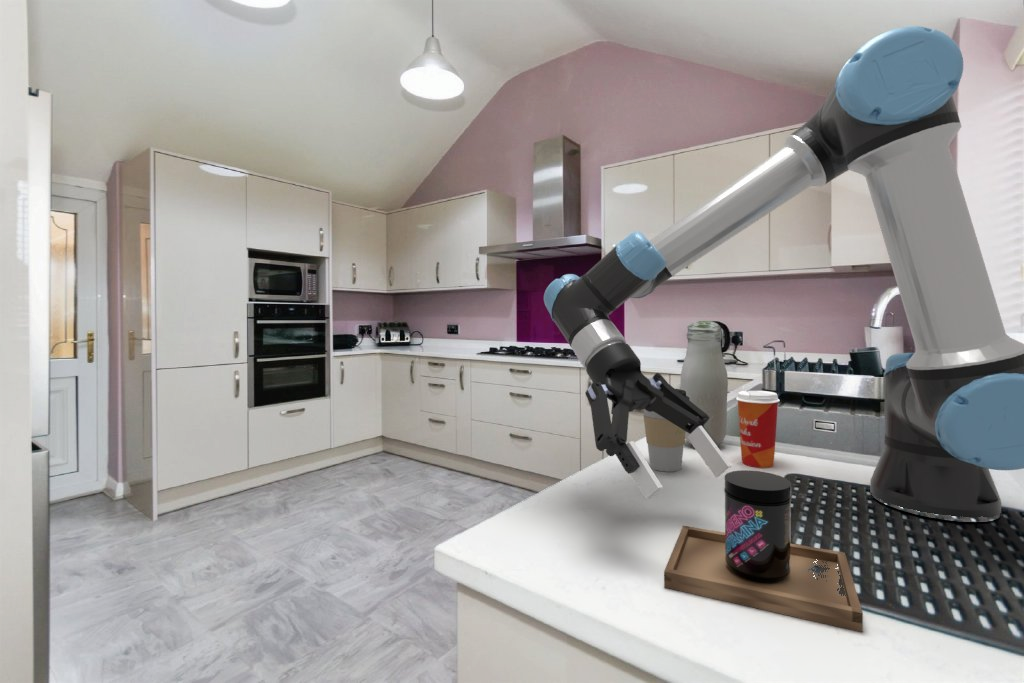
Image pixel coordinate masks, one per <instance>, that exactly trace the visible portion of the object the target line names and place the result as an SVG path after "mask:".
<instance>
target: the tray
mask: <svg viewBox="0 0 1024 683" xmlns="http://www.w3.org/2000/svg"><path fill="white" fill-rule="evenodd" d="M669 556H670V557H669V558H668V561H667V563H666V566H665V568H664V570H663V580H664V581H663V585H664V586H663V587H664V588H666V589H671V590H675V591H679V592H684V593H688V594H692V595H697V596H702V597H706V598H710V599H715V600H718V601H723V602H728V603H733V604H737V605H741V606H744V607H745V606H746V607H750V608H754V609H758V610H762V611H763V610H764V611H768V612H770V613H771V612H772V613H777V614H782V615H785V616H789V617H790V616H791V617H793V618H797V619H798V618H799V619H803V620H806V621H811V622H817V623H820V624H824V625H825V624H826V625H830V626H834V627H839V628H843V629H847V630H851V631H856V632H862V633H863V631H864V630H863V629H864V628H863V626H864V625H863V624H864V623H863V622H864V621H863V620H864V619H863V618H864V615H863V610H862V606H861V603H860V599H859V595H858V592H857V590H856V585H855V582H854V579H853V575H852V573H851V569H850V566H849V562H848V558H847V555H846V553H845V552H843V551H838V550H833V549H825V548H820V547H815V546H808V545H807V546H806V545H802V544H796V543H791V544H790V574H789V576H788V577H787V578H786V579H785V580H783V581H781V582H778V583H759V582H754V581H750V580H747V579H744V578H742V577H740V576H738V575H736V574H735V573H734V572H732V571H731V569H730V568H729V567H728V565H727V563H726V561H725V531H724V532H723V531H719V530H712V529H707V528H700V527H699V528H698V527H695V526H689V525H688V526H687V525H682V527H681V529H680V531H679V535H678V537H677V540H676V542H675V543H674V547H673V549H672V551H671V553H670V555H669ZM816 559H817V560H818V561H817V560H816ZM825 560H826V561H827V562H826V561H825ZM814 561H817V562H816V563H817V564H818V566H819V565H820V566H821V565H822V566H823V567H824V565H826V566H825V567H826V568H827V567H828V568H830V569H829V570H828V569H827V570H826V572H825V570H824V572H823V573H821V571H820V573H821V575H822V574H823V575H824V578H823V575H822V578H821V575H820V573H819V575H820V576H818V573H817V576H816V573H815V571H816V569H815V571H814V574H813V571H812V570H811V572H810V570H809V572H808V570H807V569H809V568H810V567H811V568H812V567H814V566H815V565H816V566H817V564H816V563H815V562H814ZM822 561H823V562H824V563H823V562H822ZM828 561H829V562H828ZM813 562H814V563H813ZM825 562H826V563H827V564H826V563H825ZM814 564H815V565H814ZM837 564H838V566H837ZM827 565H828V566H827ZM829 565H830V566H829ZM820 566H819V567H820ZM822 566H821V567H822ZM823 567H822V568H823ZM825 567H824V568H825ZM837 567H839V570H838V569H835V568H837ZM811 568H810V569H811ZM827 571H828V572H827ZM837 571H840V572H839V574H838V572H837ZM814 575H815V577H816V579H815V577H813V576H814ZM825 575H826V578H825ZM827 575H828V577H827ZM839 575H841V579H842V582H843V588H844V591H845V595H846V596H845V595H844V596H843V594H842V596H841V594H839V591H840V588H841V587H842V585H841V587H840V585H839V583H838V582H839V579H840V576H839ZM829 576H830V577H829ZM817 578H818V580H817ZM826 580H827V582H826ZM837 583H838V584H837ZM838 588H839V590H838V591H837V589H838Z"/></svg>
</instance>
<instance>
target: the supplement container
mask: <svg viewBox="0 0 1024 683" xmlns="http://www.w3.org/2000/svg"><path fill="white" fill-rule="evenodd" d="M723 492H724V530H725V531H724V532H725V561H726V563H727V565H728V567H729V568H730V569H731V571H732V572H734V573H735V574H736V575H738V576H740V577H742V578H744V579H747V580H750V581H754V582H759V583H778V582H781V581H783V580H785V579H786V578H787V577H788V576H789V574H790V544H792V543H791V542H792V541H791V539H792V538H791V536H792V535H791V534H792V533H791V529H792V528H791V523H792V522H791V520H792V517H791V508H792V506H791V504H792V503H791V502H792V482H791V481H790V480H789V479H787V478H786V477H783V476H781V475H779V474H775V473H771V472H767V471H766V472H765V471H760V470H744V469H743V470H734V471H730V472H727V473H726V474H725V475H724V488H723Z"/></svg>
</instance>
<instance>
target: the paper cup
mask: <svg viewBox="0 0 1024 683" xmlns="http://www.w3.org/2000/svg"><path fill="white" fill-rule="evenodd" d="M735 400H737V409H738V410H737V411H738V424H739V425H738V426H739V440H740V441H739V442H740V454H741V455H740V456H741V462H742V464H743V465H744V466H748V467H752V468H758V469H766V468H767V469H768V468H772V467H773V466H774V463H775V452H776V441H777V440H776V438H777V437H776V436H777V422H778V421H777V420H778V408H779V402H780V399H779V396H778V394H777V392H774V391H767V390H741V391H739V392H738V393H737V396H736V398H735Z"/></svg>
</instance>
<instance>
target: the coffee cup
mask: <svg viewBox="0 0 1024 683" xmlns="http://www.w3.org/2000/svg"><path fill="white" fill-rule="evenodd" d="M675 389H676V390H677V391H678V392H679V393H681V394H682V395H683V396H684V397H686V398H687V399H688V400H689V399H690V398H689V397H688V396H686V391H684V390H681V388H680V389H679V388H675ZM654 397H655V396H653V395H652V400H653V399H654ZM652 400H651V401H652ZM689 401H690V400H689ZM643 422H644V432H645V439H646V440H645V441H646V444H647V449H648V450H647V451H648V458H649V466H650V468H651V469H652V468H653V469H652V470H656V471H660V472H667V473H669V472H670V473H673V472H678V471H680V470H681V469H682V465H683V455H684V445H685V443H686V442H685V441H686V439H685V434H686V431H684V430H683V429H681V428H680V427H678V426H676V425H675V424H673V423H671V422H670V421H668V420H667V419H665V418H663V417H662V416H660V415H658V414H657V413H655V412H653V411H652V412H649V411H647V410H645V409H643Z"/></svg>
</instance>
